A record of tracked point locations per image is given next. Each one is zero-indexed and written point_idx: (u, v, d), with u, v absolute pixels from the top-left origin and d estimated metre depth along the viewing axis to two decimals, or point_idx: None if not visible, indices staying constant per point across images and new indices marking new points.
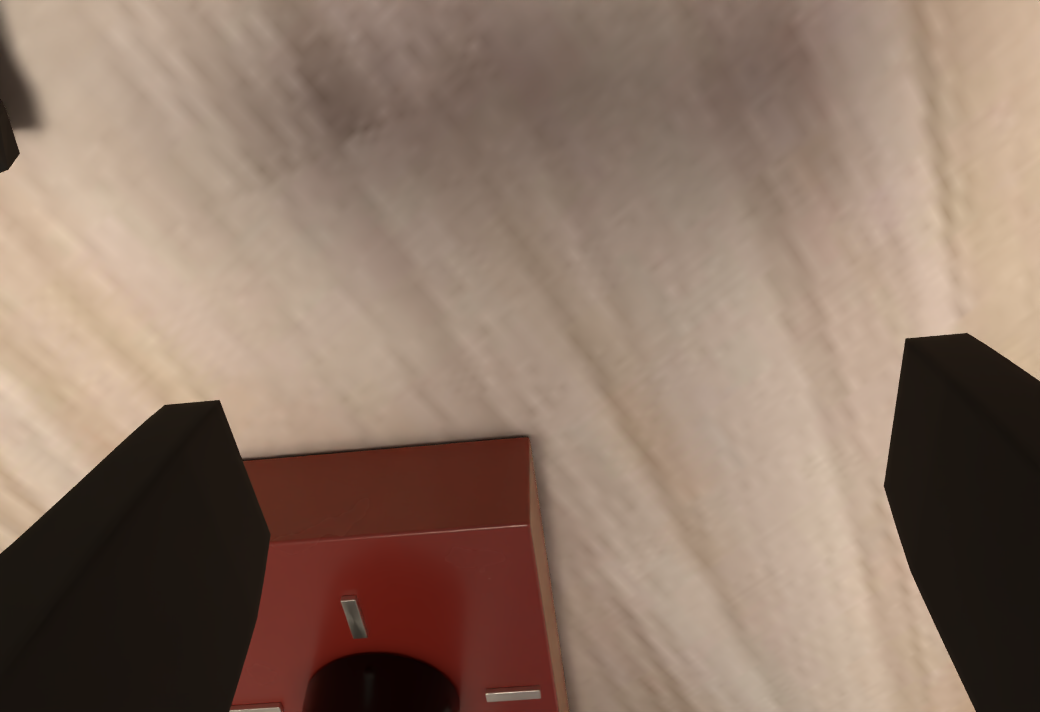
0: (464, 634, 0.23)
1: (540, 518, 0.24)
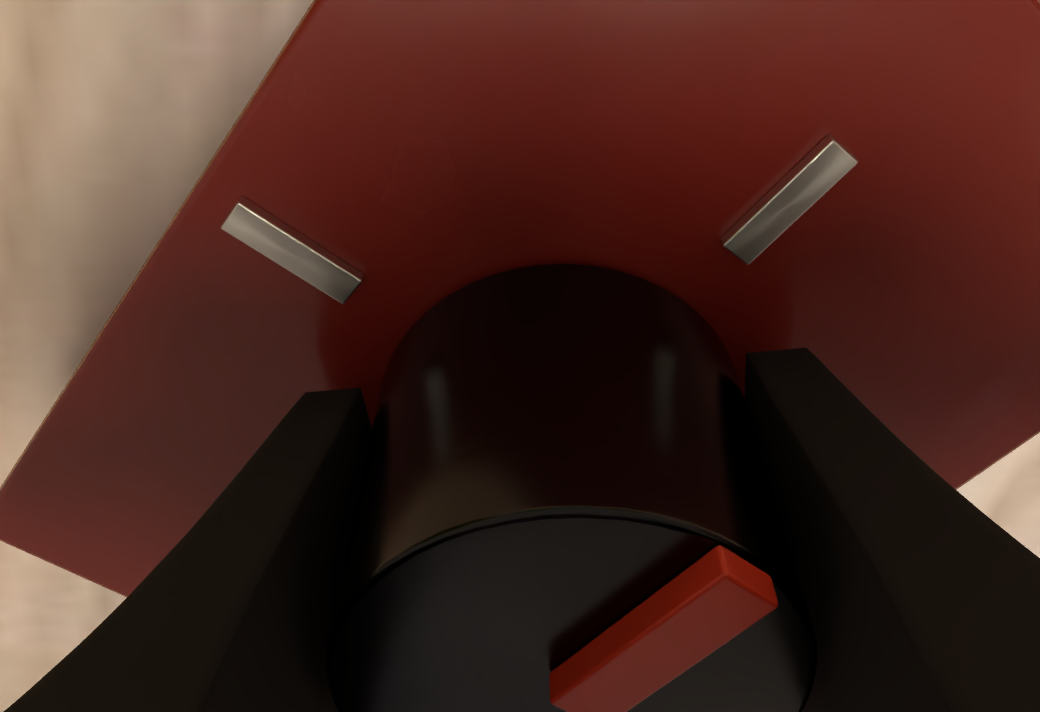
0: (872, 391, 0.10)
1: None
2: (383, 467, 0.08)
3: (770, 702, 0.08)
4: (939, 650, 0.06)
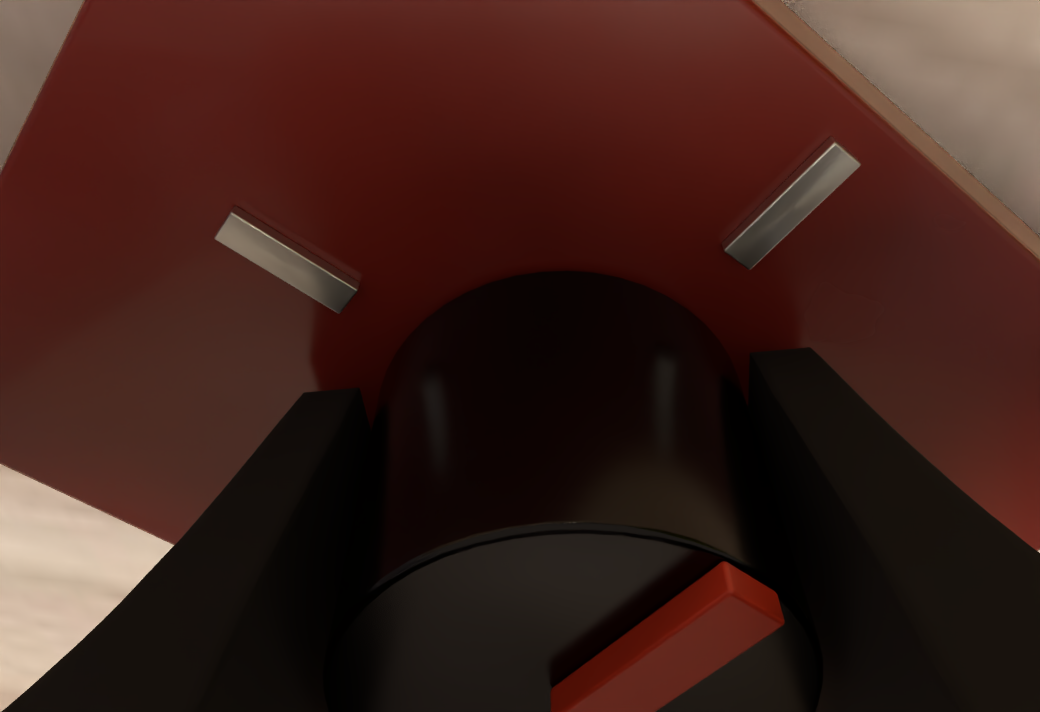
0: None
1: None
2: (381, 478, 0.08)
3: None
4: (944, 650, 0.06)
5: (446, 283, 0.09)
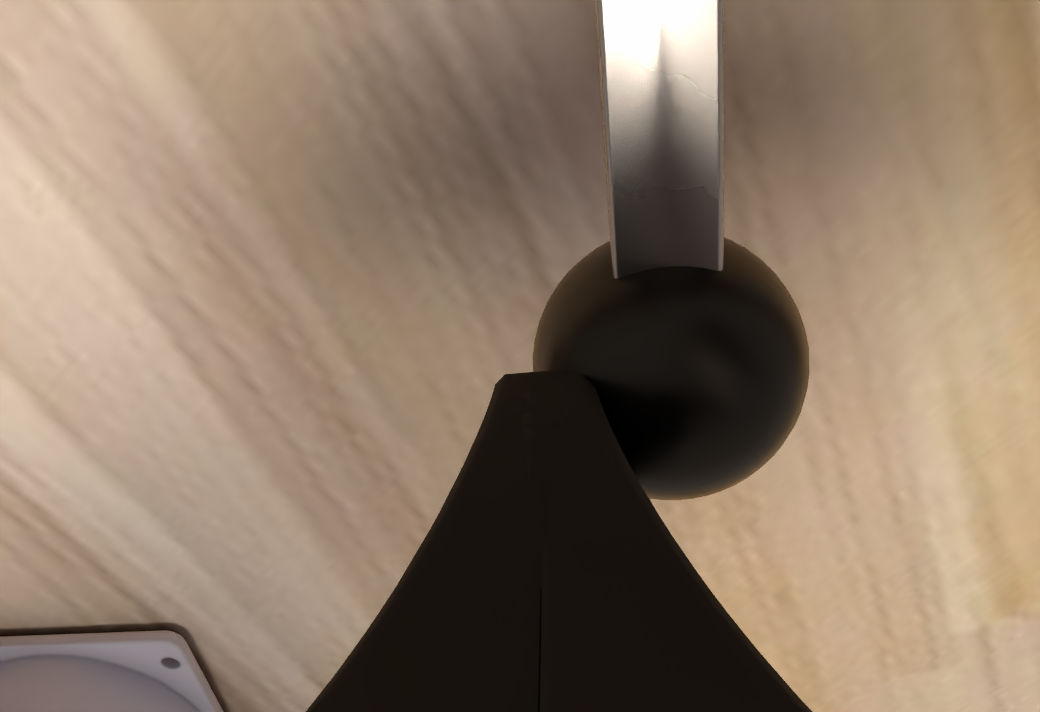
0: None
1: None
2: None
3: None
4: (558, 677, 0.06)
5: None
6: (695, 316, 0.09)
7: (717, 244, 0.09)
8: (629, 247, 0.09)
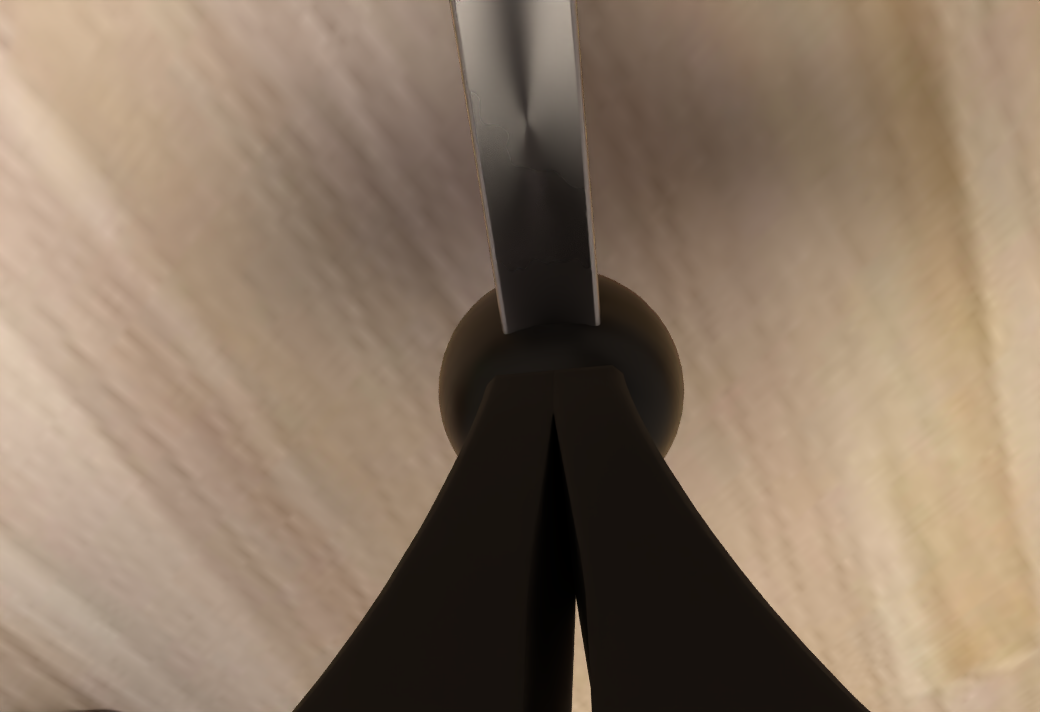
0: None
1: None
2: None
3: None
4: (606, 673, 0.06)
5: None
6: None
7: (594, 304, 0.10)
8: (515, 309, 0.10)
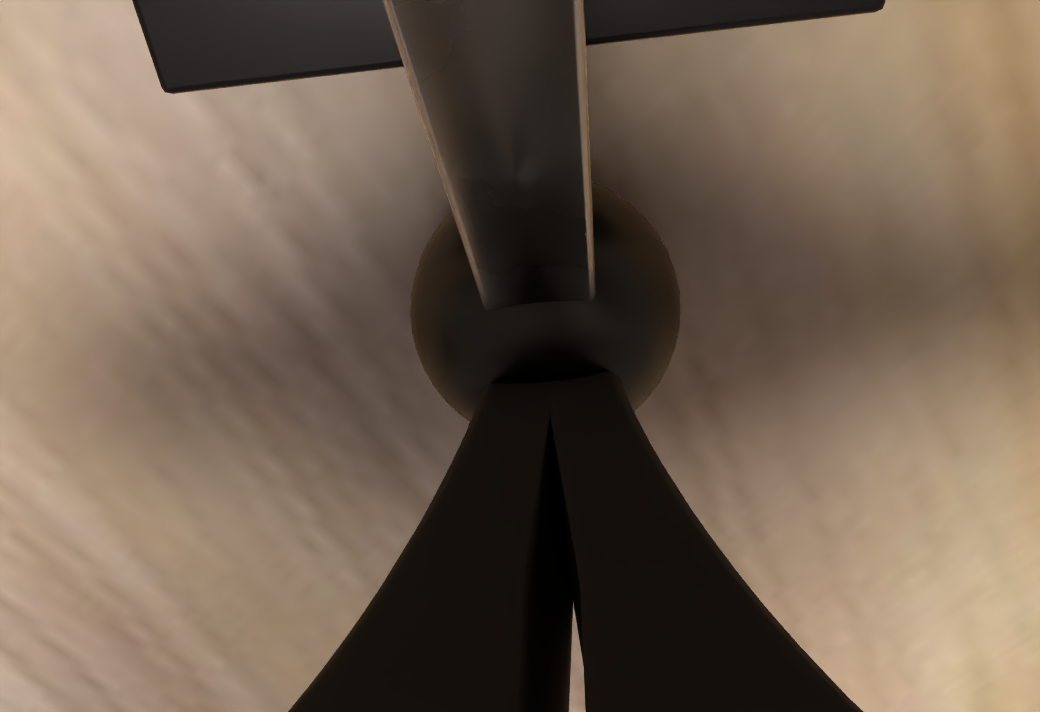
0: None
1: None
2: None
3: None
4: (601, 674, 0.06)
5: None
6: (566, 358, 0.09)
7: (588, 285, 0.09)
8: (498, 296, 0.09)
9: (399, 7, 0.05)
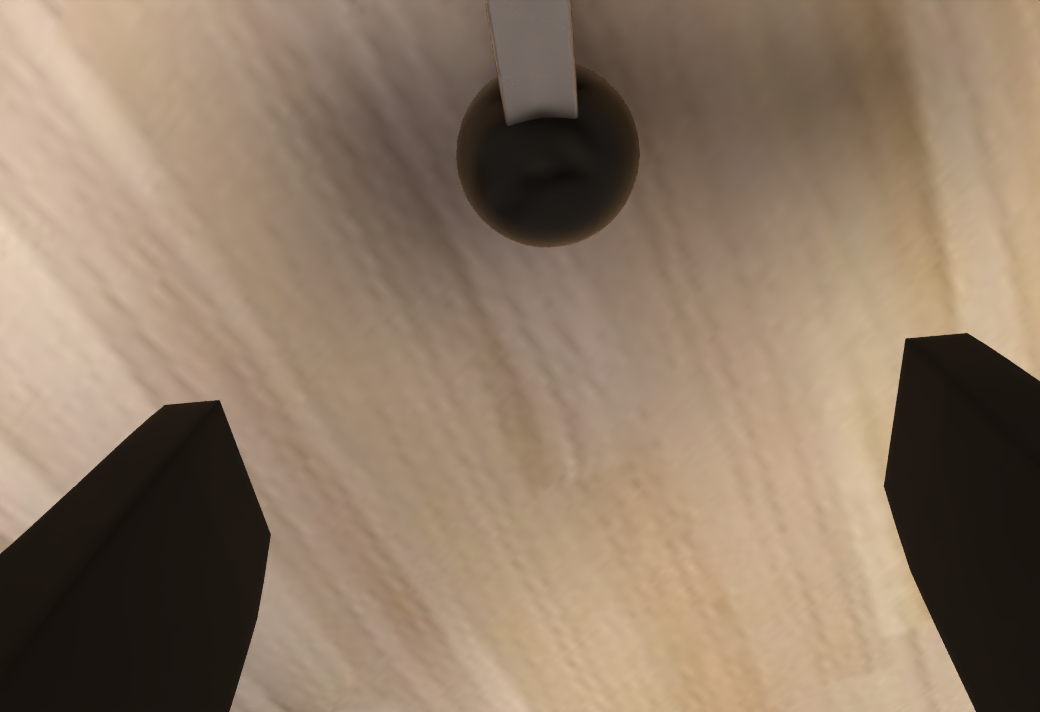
0: None
1: None
2: None
3: None
4: None
5: None
6: (559, 156, 0.14)
7: (573, 104, 0.14)
8: (515, 109, 0.14)
9: None
